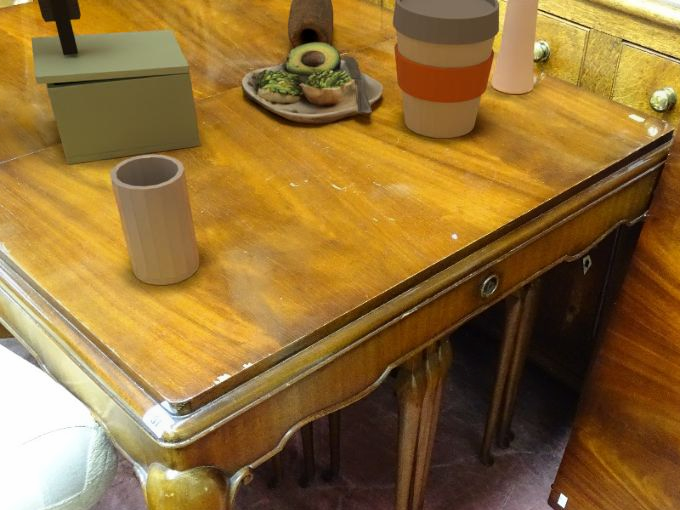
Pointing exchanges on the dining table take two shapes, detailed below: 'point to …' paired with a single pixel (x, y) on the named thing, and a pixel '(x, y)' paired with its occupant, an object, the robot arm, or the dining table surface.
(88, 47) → the box lid
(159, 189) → the pinkish-brown cup
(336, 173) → the dining table surface
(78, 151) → the storage box
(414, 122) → the reusable coffee cup
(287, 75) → the avocado toast plate
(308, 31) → the stone weight
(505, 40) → the cosmetic bottle
